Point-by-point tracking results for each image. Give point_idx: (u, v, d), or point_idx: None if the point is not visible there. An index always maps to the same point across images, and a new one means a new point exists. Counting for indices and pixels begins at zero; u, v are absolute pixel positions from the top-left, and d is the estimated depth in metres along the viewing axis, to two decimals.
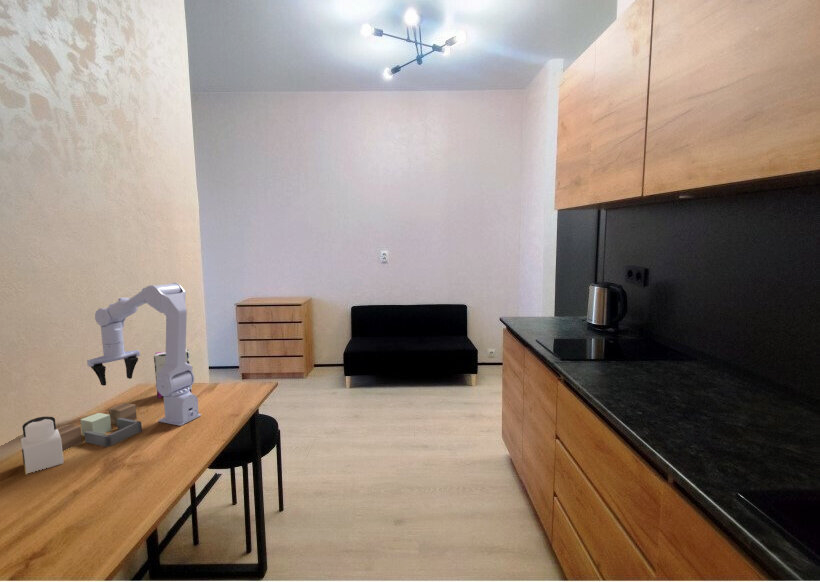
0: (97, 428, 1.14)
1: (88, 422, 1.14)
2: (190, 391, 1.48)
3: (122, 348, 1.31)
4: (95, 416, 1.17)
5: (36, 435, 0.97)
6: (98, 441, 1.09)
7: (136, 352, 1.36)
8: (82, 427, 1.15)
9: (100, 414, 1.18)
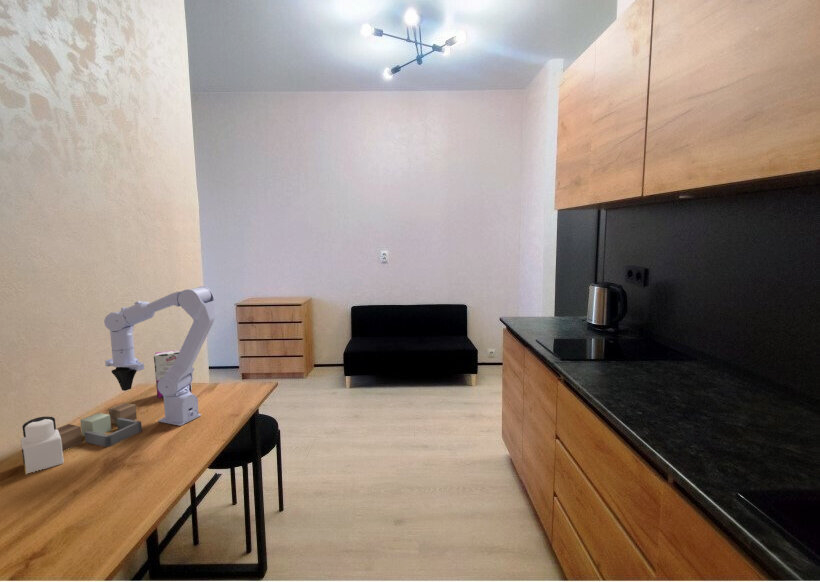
0: (97, 428, 1.14)
1: (88, 422, 1.14)
2: (190, 391, 1.48)
3: (120, 357, 1.21)
4: (95, 416, 1.17)
5: (36, 435, 0.97)
6: (98, 441, 1.09)
7: (135, 366, 1.21)
8: (82, 427, 1.15)
9: (100, 414, 1.18)
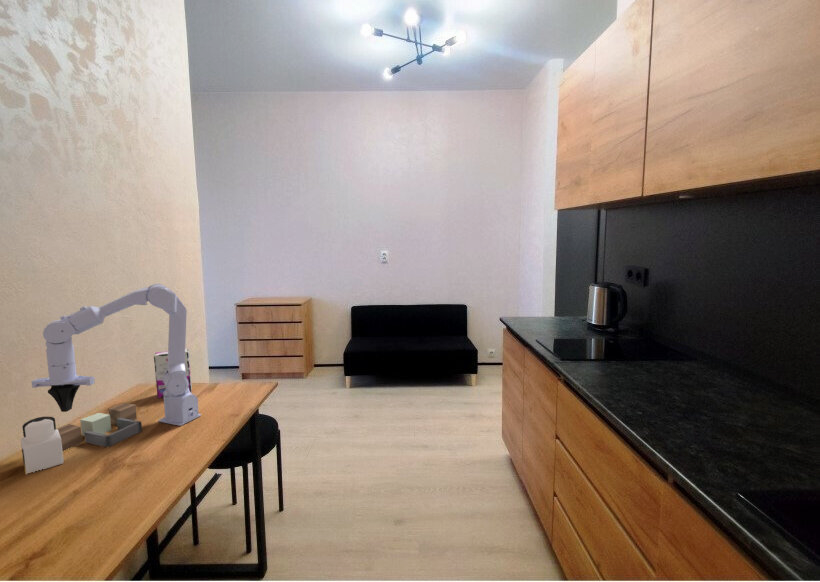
0: (97, 428, 1.14)
1: (88, 422, 1.14)
2: (190, 391, 1.48)
3: (62, 373, 1.06)
4: (95, 416, 1.17)
5: (36, 435, 0.97)
6: (98, 441, 1.09)
7: (85, 380, 1.08)
8: (82, 427, 1.15)
9: (100, 414, 1.18)
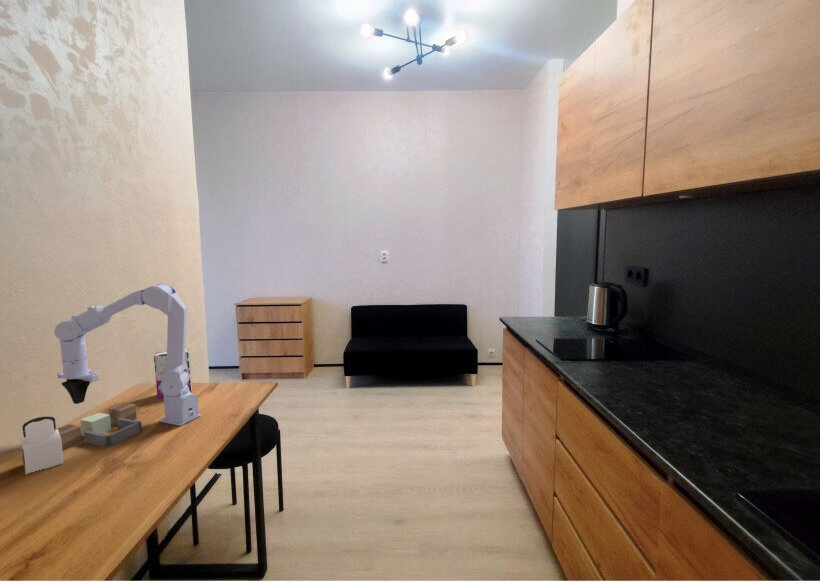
0: (97, 428, 1.14)
1: (88, 422, 1.14)
2: (190, 391, 1.48)
3: (71, 368, 1.14)
4: (95, 416, 1.17)
5: (36, 435, 0.97)
6: (98, 441, 1.09)
7: (88, 377, 1.14)
8: (82, 427, 1.15)
9: (100, 414, 1.18)
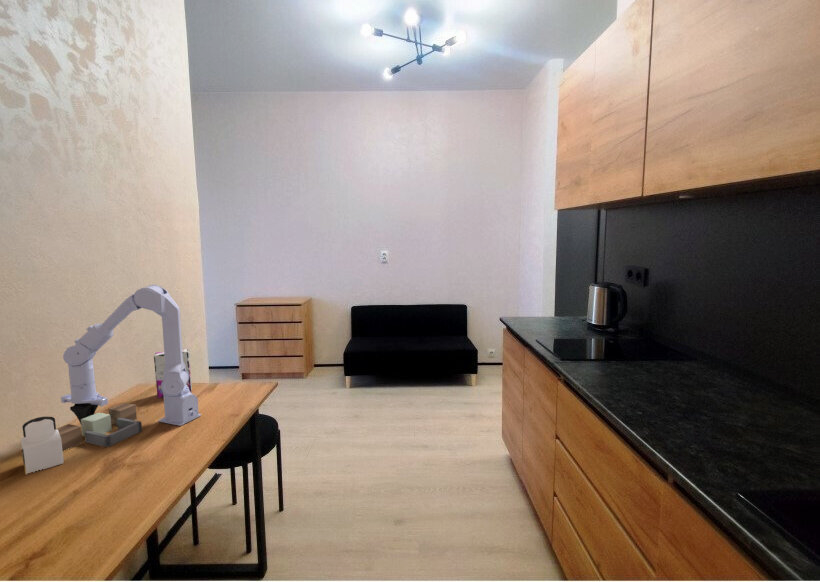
0: (97, 428, 1.14)
1: (88, 422, 1.14)
2: (190, 391, 1.48)
3: (80, 393, 1.14)
4: (95, 416, 1.17)
5: (36, 435, 0.97)
6: (98, 441, 1.09)
7: (98, 401, 1.15)
8: (83, 427, 1.15)
9: (100, 414, 1.18)
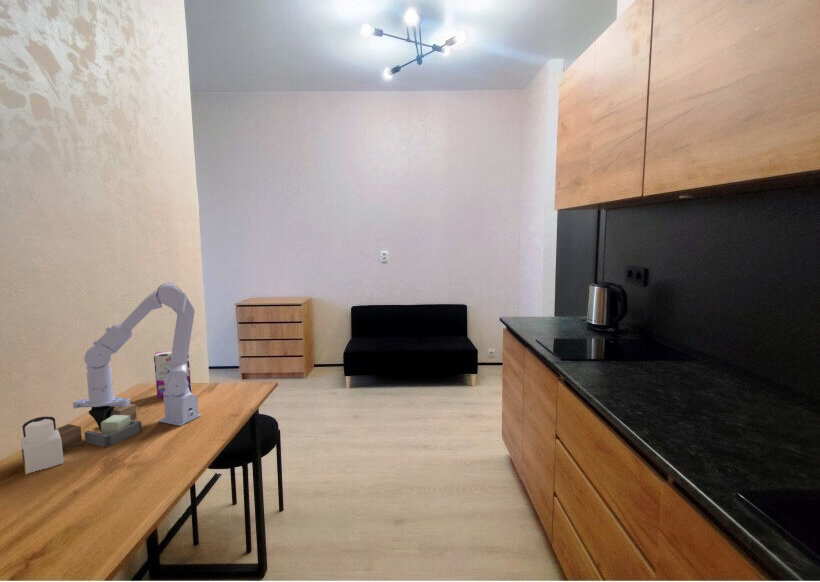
0: None
1: (112, 424, 1.12)
2: (190, 391, 1.48)
3: (101, 395, 1.12)
4: (115, 418, 1.15)
5: (36, 435, 0.97)
6: (98, 441, 1.09)
7: (121, 402, 1.14)
8: (103, 430, 1.12)
9: (118, 416, 1.16)
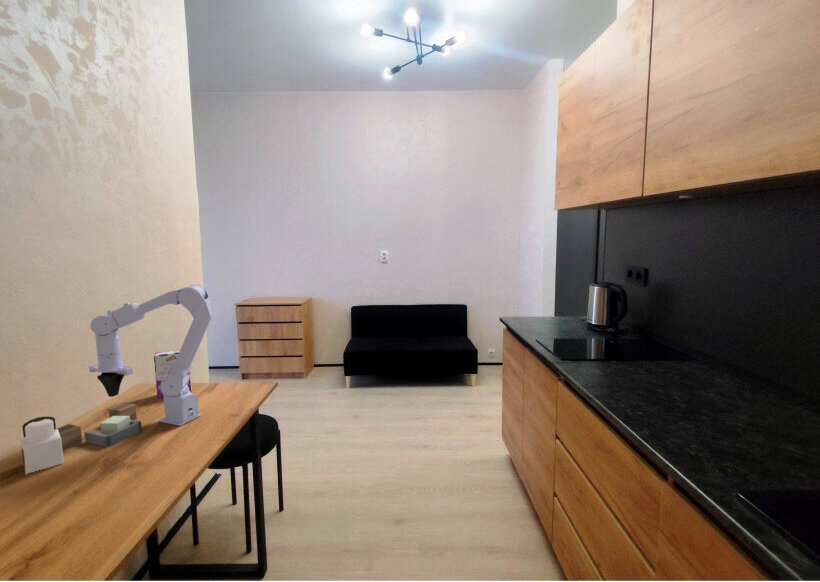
0: None
1: (112, 424, 1.12)
2: (190, 391, 1.48)
3: (106, 362, 1.16)
4: (114, 419, 1.15)
5: (36, 435, 0.97)
6: (98, 441, 1.09)
7: (123, 370, 1.17)
8: (103, 431, 1.13)
9: (118, 416, 1.17)
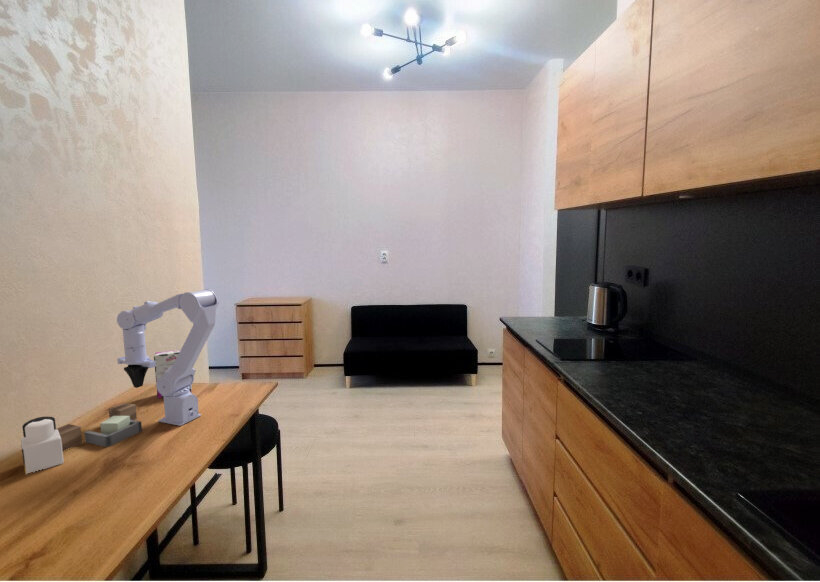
0: None
1: (112, 424, 1.12)
2: (190, 391, 1.48)
3: (132, 355, 1.24)
4: (114, 419, 1.15)
5: (36, 435, 0.97)
6: (98, 441, 1.09)
7: (147, 363, 1.24)
8: (103, 431, 1.13)
9: (118, 416, 1.17)
